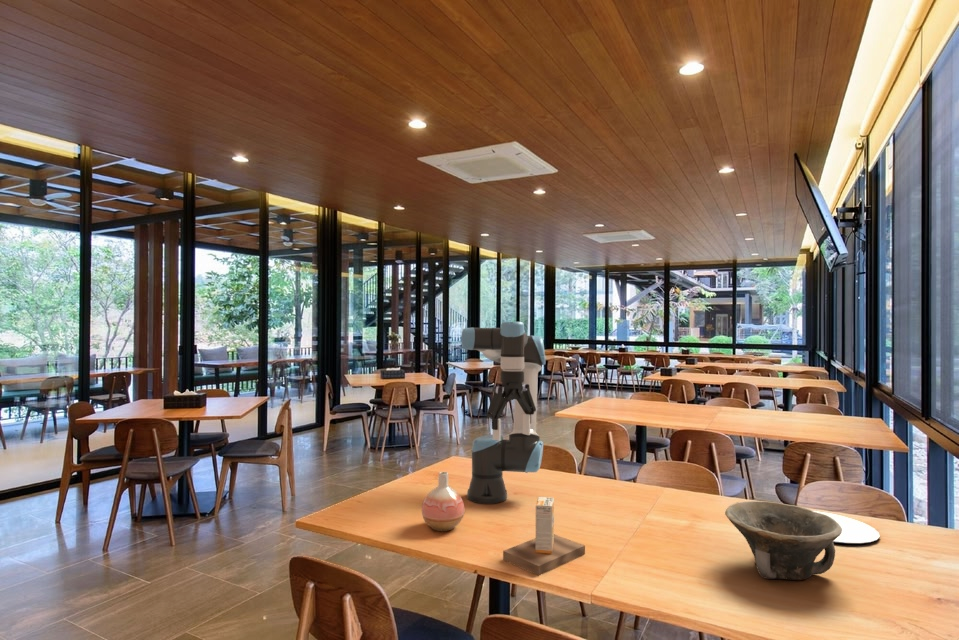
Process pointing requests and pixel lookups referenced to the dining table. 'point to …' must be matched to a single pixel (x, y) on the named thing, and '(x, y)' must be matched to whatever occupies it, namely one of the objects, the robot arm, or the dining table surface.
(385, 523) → the dining table surface
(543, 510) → the supplement box
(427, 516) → the vase
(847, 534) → the plate
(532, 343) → the robot arm
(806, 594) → the dining table surface
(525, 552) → the walnut board
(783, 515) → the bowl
